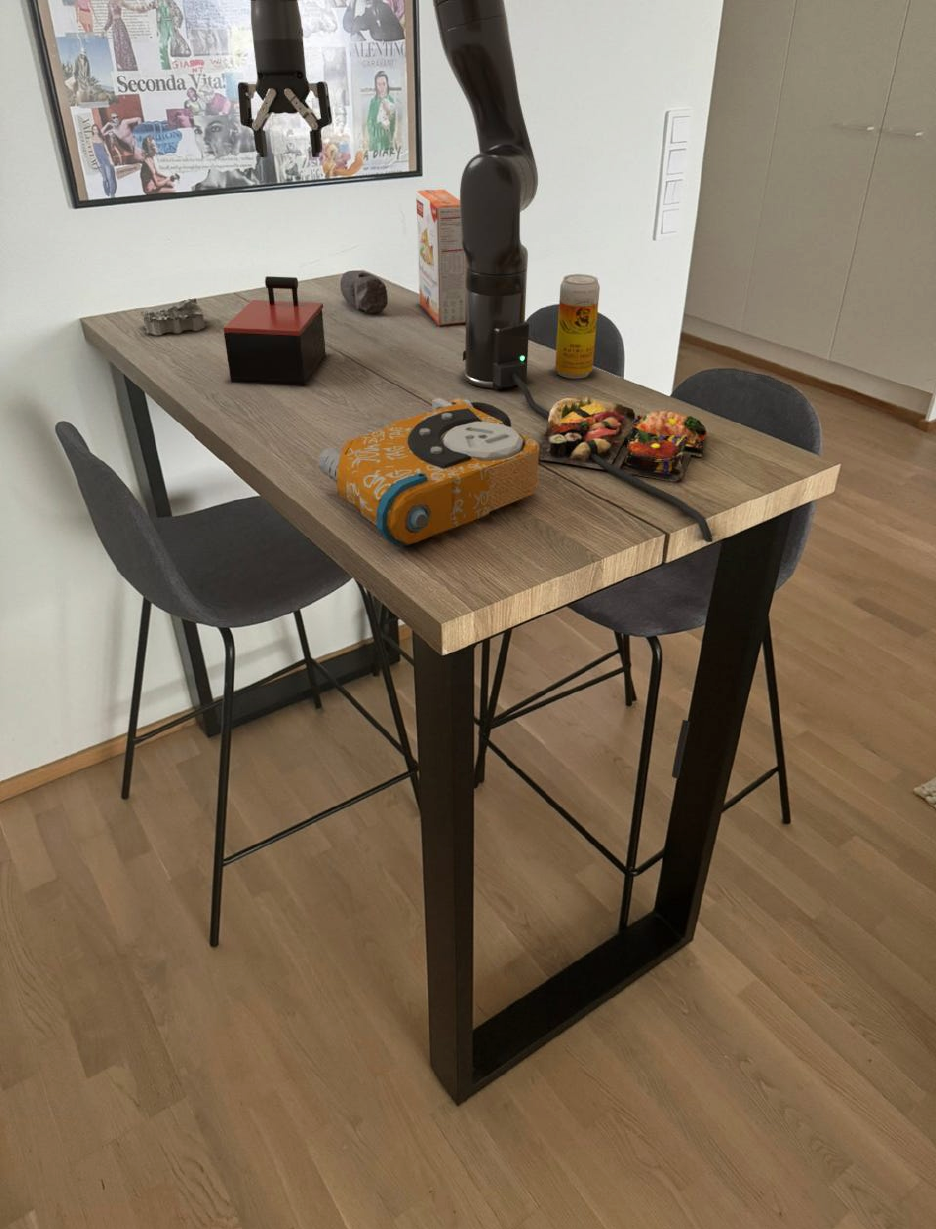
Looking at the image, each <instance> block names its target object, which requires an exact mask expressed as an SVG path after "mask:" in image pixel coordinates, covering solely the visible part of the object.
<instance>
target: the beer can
mask: <svg viewBox="0 0 936 1229" xmlns="http://www.w3.org/2000/svg"><path fill="white" fill-rule="evenodd" d="M600 288H601V287H600V284H599V279H598V277H596V276H594V275H591V274H585V273H584V274H583V273H574V274H568V275H567V274H566V275H565V276H564V277H563V279H562V281H561V283H560V286H559V301H558V302H559V303H558V315H557V316H558V317H557V333H556V345H555V346H556V347H555V362H554V369H555V370H556V371H557V374H558V375H559V376H561V377H562V378H567V379H583V378H586V377H588V376H589V374H590V373H591V372H592V371H593V366H594V356H595V355H594V354H595V345H596V344H595V343H596V333H597V322H598V312H599V300H600V291H601V290H600Z"/></svg>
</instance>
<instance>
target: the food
mask: <svg viewBox="0 0 936 1229" xmlns="http://www.w3.org/2000/svg"><path fill="white" fill-rule="evenodd" d="M549 412H550V415H549V419H548V418H547V419H548V420H547V422H548V423H547V427H546V430H545V433H544V437H543V439H542V441H541V449H540V451H539V460H540V461H547V462H553V463H561V464H569V465H575V466H581V467H586V468H591V469H592V468H593V469H598V470H605V469H604V468H602V467H601V466H600V465H598V464H596V463H595V462H593V461H592V460H591V459H590V456H591V454H596V455H597V456H599V457H600V458H602V459H603V460H605V461H606V462H608V463H610V464H611V465H612V464H613V462H614V460H615V459H616V458H617V455H618V453H619V452H620V449H621V448H622V446H623V443H624V442H627V446H626V451H625V454H624V457H623V459H622V462H621V465H620V466H619V469H620V470H622V471H624V472H626V473H628V474H630V475H635V476H639V477H645V478H651V479H657V480H662V481H667V482H672V483H675V482H677V481H679V480H681V478H683V477H684V475H685V471H686V469H687V467H688V464H689V461H690V458H691V457H692V456H696V457H700V458H701V457H702V456H703V445H704V442H705V440H706V439H707V428H706V426H705V425H704V424H703V423H702V421H701V420H700V419H698V418H696V417H693V416H692V415H687V416H685V415H684V414H683V415H682V414H679V413H676V412H674V411H669V412H668V411H667V410H663V411H652V412H649V413H647V414H645V415H643V414H642V415H641V414H639V415H637V416H636V412H635V411H634V409H633V408H631V407H627V406H625V405H623V404H619V403H614V402H608V401H603V400H600V399H596V398H593V397H590V396H589V395H587V396H585V397H565V398H563V399H561V400H559V401H557V402H555V403H554V404H553V406H552V407H551V409H550V411H549Z"/></svg>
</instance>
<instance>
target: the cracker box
mask: <svg viewBox="0 0 936 1229" xmlns="http://www.w3.org/2000/svg"><path fill="white" fill-rule="evenodd" d="M415 196H416V199H415V200H416V222H417V223H416V224H417V226H416V227H417V254H418V255H417V256H418V258H417V259H418V285H419V287H418V290H419V305H420V306H421V307H422V308H423V309H424V310H425V312H426V313H427V314H428V315H429V316H430V317H431V318H432V319H433V320H434V322H435V323H436V324H437V325H438V326H439V327H442V326H450V325H460V324H461V325H462V324H466V255H465V252H464V250H463V247H462V241H461V218H460V199H458V198H457V197H456V196H454V195H452V194H451V193H450V192H449V191H447V190H445V189H424V190H417V191H415Z"/></svg>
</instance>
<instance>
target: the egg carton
mask: <svg viewBox="0 0 936 1229" xmlns="http://www.w3.org/2000/svg"><path fill="white" fill-rule="evenodd" d="M140 315H141V316H142V320H143V326H144V328H145V329H146V333H147V334H149V335H154V336H158V337H159V336H162V335H164V334H165V333H174V334H181V333H182V332H184V331H193V332H199V331H200V330H201V329H202V330H203V329H205V327H206V325H205V318H204V316H205V313H204V312H203V311H202V308H201V307H200V304H199V302H198V300H197V298H196V297H195V298H188V299H183V300H181V301H179V303H178V305H174V304H171V305H170V307H166V308H158V309H154V310H153V311H149V312H148V310H146V311H140Z"/></svg>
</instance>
